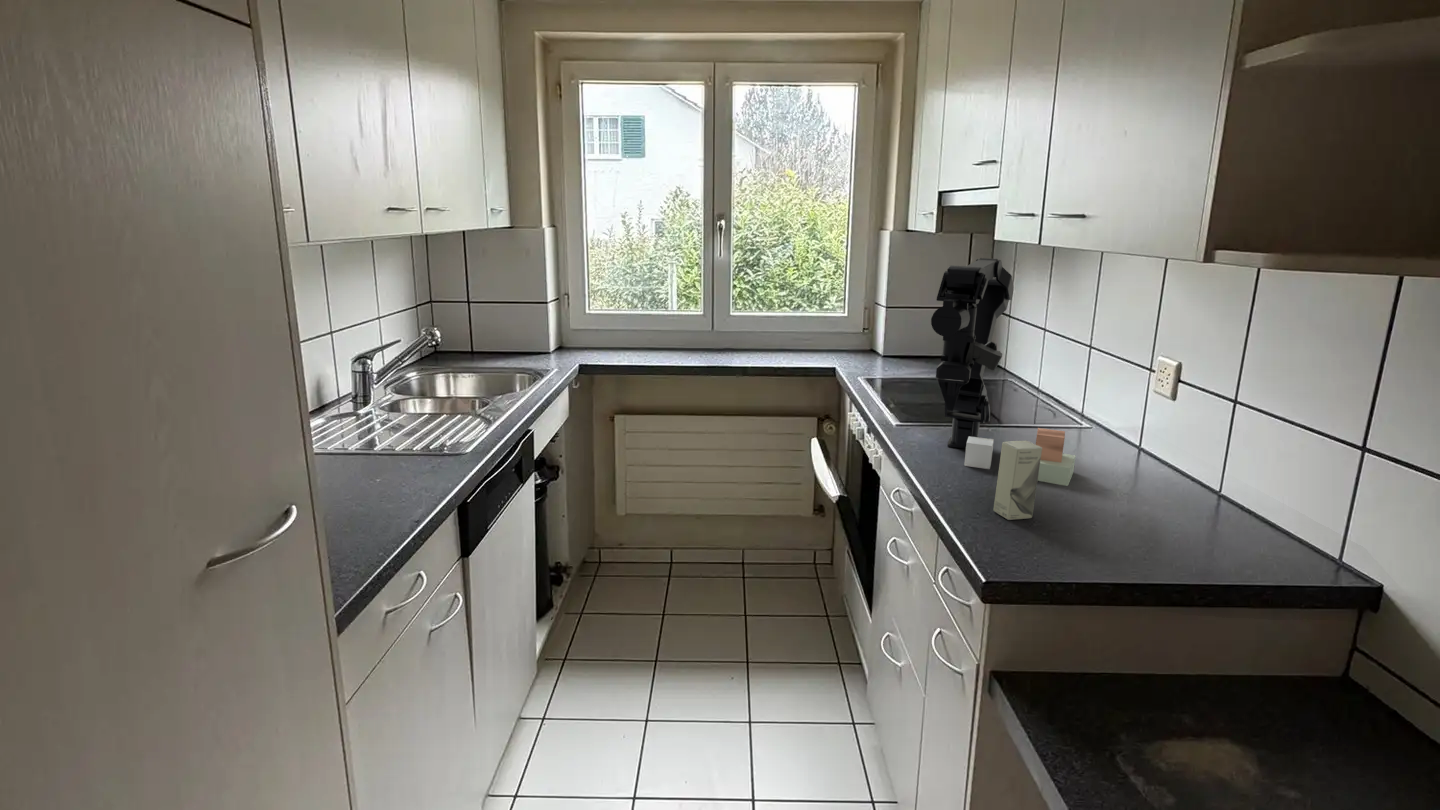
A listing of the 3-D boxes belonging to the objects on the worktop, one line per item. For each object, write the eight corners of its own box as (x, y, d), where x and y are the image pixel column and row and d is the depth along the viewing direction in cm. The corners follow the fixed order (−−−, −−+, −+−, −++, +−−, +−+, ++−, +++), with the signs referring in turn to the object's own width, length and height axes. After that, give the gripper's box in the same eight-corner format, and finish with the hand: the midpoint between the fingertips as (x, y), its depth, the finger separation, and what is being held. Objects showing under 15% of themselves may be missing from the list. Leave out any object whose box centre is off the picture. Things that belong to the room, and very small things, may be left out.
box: (1007, 521, 131) (1016, 449, 128) (992, 511, 135) (1000, 441, 132) (1034, 518, 133) (1043, 446, 129) (1018, 508, 137) (1027, 439, 133)
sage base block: (1025, 466, 160) (1028, 447, 159) (1073, 474, 156) (1075, 455, 155) (1018, 479, 153) (1020, 459, 152) (1067, 487, 148) (1070, 468, 147)
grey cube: (966, 458, 163) (968, 436, 162) (991, 462, 161) (993, 439, 160) (964, 466, 159) (966, 442, 157) (989, 469, 157) (992, 446, 156)
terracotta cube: (1034, 451, 157) (1038, 428, 156) (1061, 455, 155) (1064, 431, 154) (1033, 458, 152) (1036, 434, 151) (1061, 462, 150) (1064, 437, 149)
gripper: (1001, 340, 143) (992, 421, 147) (1002, 325, 160) (994, 398, 164) (939, 335, 147) (932, 414, 151) (947, 322, 164) (940, 393, 168)
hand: (952, 405), depth 158 cm, fingers open, 9 cm apart
